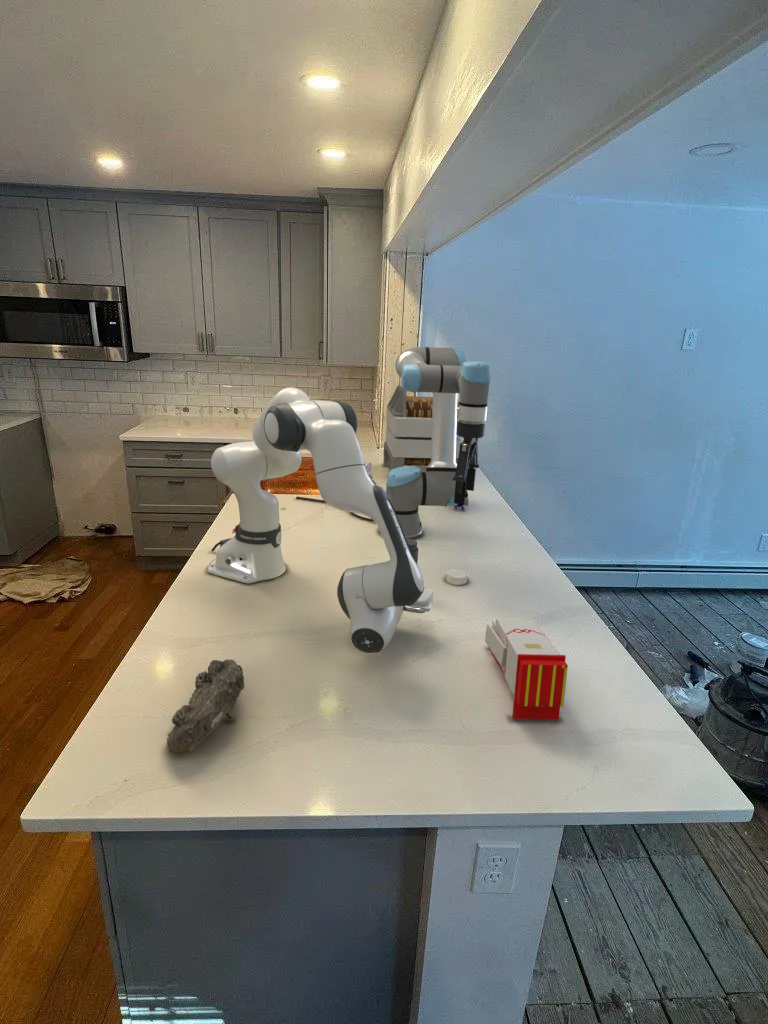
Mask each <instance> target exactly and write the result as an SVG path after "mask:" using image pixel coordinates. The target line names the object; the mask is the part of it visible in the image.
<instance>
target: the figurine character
mask: <svg viewBox="0 0 768 1024" xmlns="http://www.w3.org/2000/svg"><path fill="white" fill-rule="evenodd" d="M469 502H470V501H469V491H468V490H466V491H465V502H464V505H461V504H458V505H456V506H454V510H456V511H457V510H458V508H461V510H462V511H464V510H465V507H468V506H469Z"/></svg>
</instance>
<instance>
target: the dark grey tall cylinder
mask: <svg viewBox="0 0 768 1024" xmlns="http://www.w3.org/2000/svg"><path fill="white" fill-rule="evenodd" d="M406 540H407V542H408V545H409V548H410V550H411V552H412V555H413V557H414V559H415V561H416V563H417V565H419V564H418V563H419V562H418V561H419V546H418V544H419V543H418V540H416V539H406Z"/></svg>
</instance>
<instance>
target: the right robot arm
mask: <svg viewBox="0 0 768 1024" xmlns="http://www.w3.org/2000/svg"><path fill="white" fill-rule="evenodd" d="M395 360H396V361H395V365H394V367H395V372H396V374H397V375H398V377H399V378H400V386H401V388H402V390H403V391H406V392H407V393H409V392H410V393H432V397H433V406H432V441H431V463H430V464H429V465H428V466H425V470H426V471H422V469H421V468H420V466H407V465H404V467H398V468H395V469H392V470H391V471H390V470H388V473H387V475H386V482H385V487H386V488H385V489H386V490H385V491H386V493H387V495H388V496H389V498H390V501H391V503H392V505H393V507H394V510H395V512H396V514H397V517H398V520H399V522H400V525H401V527H402V530H403V532H404V535H405V537H406V539H414V540H416V539H418V538H420V537H421V536H422V535H423V525H422V521H421V518H420V515H419V507H420V506H424V507H425V506H427V507H455V506H456V505H458V504H461V505H463V506H464V502H465V491H466V490H467V491H471V492H474V490H475V484H476V483H475V482H476V473H477V469H479V468H480V464H479V439H482V438H483V437H484V436H485V431H486V423H485V422H486V421H487V415H488V402H489V401H488V400H489V393H490V382H491V379H492V374H491V373H492V372H491V371H492V370H491V369H492V366H491V364H490V363H489V362H484V361H475V360H474V361H473V360H472V361H471V360H468V358H467V355H466V353H465V351H464V349H461V348H456V347H455V348H454V347H434V346H433V347H431V346H430V347H429V346H417V347H411V348H409V349H406V350H404V351H402V352H401V353H400V354H399V355H398V356H397V358H396V359H395ZM458 396H459V397H458ZM457 401H458V402H459V408H457ZM457 411H459V413H458V419H459V420H460V421H458V422H457ZM456 434H457V435H458V436H460V437H463V438H462V439H463V440H462V441H463V443H460V450H459V456H458V462H457V464H456ZM295 499H297V500H302V501H309V502H317V503H323V504H327V503H326V502H325V501H324V500H323V499H318V498H310V497H305V496H296V497H295ZM348 513H349V514H350V515H351V516H353V517H355V518H356V519H357V518H358V519H361V520H363V521H367V522H371V523H372V522H373V523H375V521H374V520H372V519H371V518H370V517H366V516H363V515H360V514H358V513H352V512H348ZM378 533H379V534H380V535H381V533H380V530H379V529H378Z"/></svg>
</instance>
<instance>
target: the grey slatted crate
mask: <svg viewBox="0 0 768 1024" xmlns="http://www.w3.org/2000/svg"><path fill="white" fill-rule="evenodd" d="M407 394H408V392H407V391H403V390H402V388H401V384H400V385H399V384H398V385H397V386H396V388H395V390H394V392H393V394H392V395H391V398H390V400H389V402H388V404H387V405H386V413H385V414H386V415H385V423H386V428H385V438H384V442H383V466H384V467H388V468H389V471H391V470H392V469H395V468H398V467H404V466H413V467H427V466H428V465H429V464H430V463H431V441H432V406H433V396H415V395H414V396H413V395H412V396H411V395H407ZM457 408H459V400H458V401H457ZM458 413H459V411H457V422H458V421H460V420H459V419H458ZM462 439H464V438H463V437H460V436H458V435H457V434H456V464H457V462H458V456H459V450H460V443H463V440H462Z"/></svg>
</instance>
